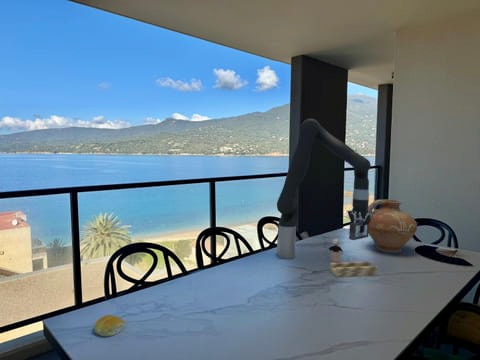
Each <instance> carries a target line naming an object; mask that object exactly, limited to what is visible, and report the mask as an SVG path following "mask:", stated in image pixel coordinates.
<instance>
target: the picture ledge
mask: <svg viewBox="0 0 480 360" xmlns="http://www.w3.org/2000/svg"><path fill="white" fill-rule="evenodd" d="M329 271H330V273H332V274H333V275H334V276H335V277H337V278H344V277H345V278H346V277H366V276H367V277H368V276H370V277H371V276H378V275H379V266H377V265H372V262H371V261H349V262H340V263H337V262H336V263H332V262H330V263H329Z"/></svg>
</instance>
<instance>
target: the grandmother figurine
mask: <svg viewBox="0 0 480 360" xmlns="http://www.w3.org/2000/svg"><path fill="white" fill-rule="evenodd" d="M339 243H340V241H339V239H338V238H334V239H333V240H332V246H330V247H329V248H328V250H327V253H330V252H331V251H332V252H331V263H341V260H340V259H341V257H340V254H341V255H344V251H343V249H342V247H340V246H339Z"/></svg>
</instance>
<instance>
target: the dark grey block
mask: <svg viewBox="0 0 480 360" xmlns="http://www.w3.org/2000/svg"><path fill="white" fill-rule="evenodd" d="M360 226H361V225H360V221H359V222H355V223H353V222H351V223H349V234H348V235H349V237H348V239H349V240H352V241H356V240H362V239H365V238H369V224H368V225H365V230H364V232H363V233H360Z"/></svg>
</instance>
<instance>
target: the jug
mask: <svg viewBox="0 0 480 360" xmlns="http://www.w3.org/2000/svg"><path fill="white" fill-rule="evenodd" d="M400 205H402V201H401V200H398V199H376V200H374V201H372V202H371V203H370V204H368V213H369V214H371V215H373V217H372V219H371V221H370V223H369V233H368V236H370V238H371V239H372V240H373V242H374V243H375V244H376V249H377V250H379V251H380V252H384V253H390V254H391V253H393V254H396V253H401V252H402V251H401V250H402V249H401V248H402V247H404V246H405V245H406V244H407V243H408V242H409V241H410V240H411V239H412V238H413V237H414V235H415V234H416V232H417V229H418V224H417V221H416V220H415V218H413V216H412V215H410V214H409V213H407V212H405V211H404V210H401V209H400ZM377 206H382V207H381V208H378V209H375V207H377ZM374 209H375V210H374ZM366 216H367V215H366ZM366 218H367V217H366Z"/></svg>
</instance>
